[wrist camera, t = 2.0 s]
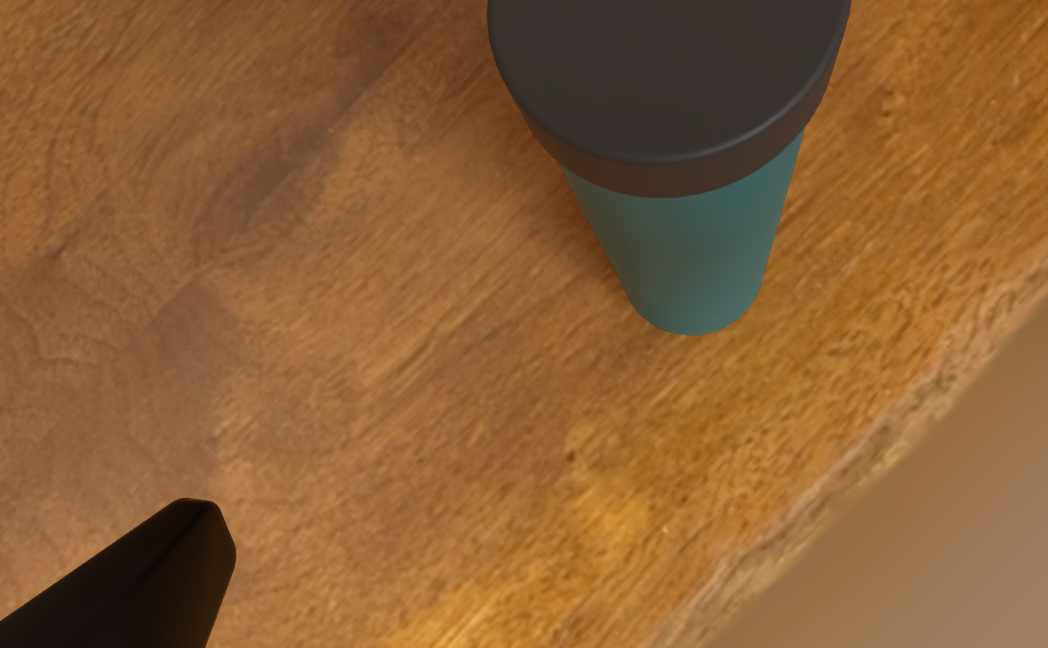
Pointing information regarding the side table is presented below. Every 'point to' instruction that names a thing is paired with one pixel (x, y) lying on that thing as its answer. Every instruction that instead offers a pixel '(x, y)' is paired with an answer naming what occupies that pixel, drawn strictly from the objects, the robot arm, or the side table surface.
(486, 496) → the side table surface
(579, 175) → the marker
